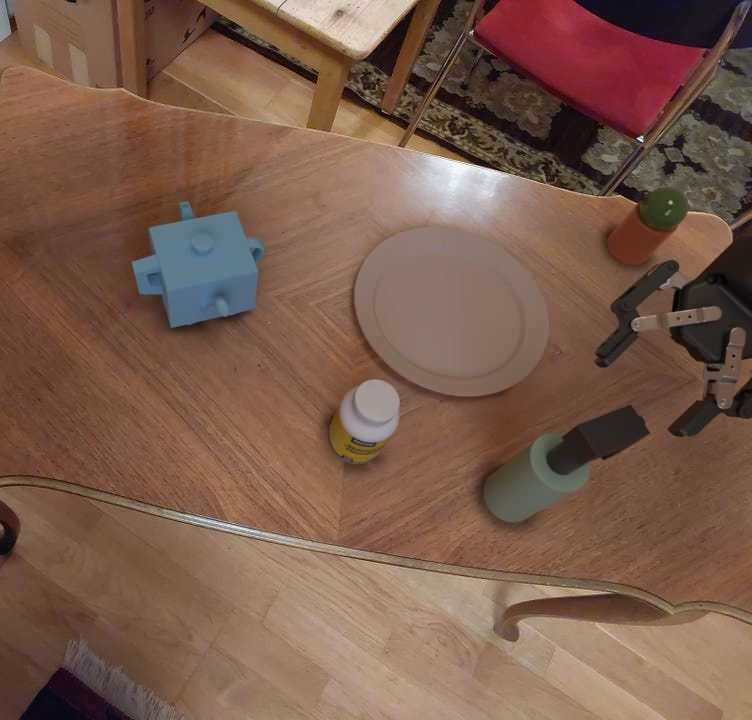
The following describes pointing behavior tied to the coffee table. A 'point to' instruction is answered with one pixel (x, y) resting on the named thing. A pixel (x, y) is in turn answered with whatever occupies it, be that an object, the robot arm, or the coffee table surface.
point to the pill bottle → (364, 421)
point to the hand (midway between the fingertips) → (637, 399)
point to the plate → (451, 311)
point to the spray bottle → (558, 464)
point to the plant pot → (648, 225)
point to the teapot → (201, 267)
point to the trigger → (615, 453)
